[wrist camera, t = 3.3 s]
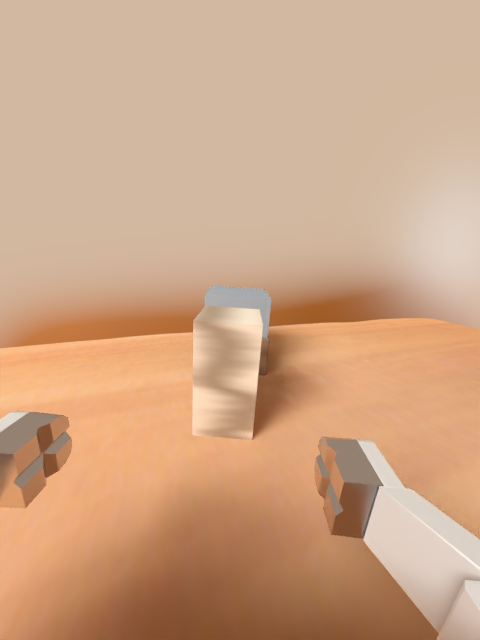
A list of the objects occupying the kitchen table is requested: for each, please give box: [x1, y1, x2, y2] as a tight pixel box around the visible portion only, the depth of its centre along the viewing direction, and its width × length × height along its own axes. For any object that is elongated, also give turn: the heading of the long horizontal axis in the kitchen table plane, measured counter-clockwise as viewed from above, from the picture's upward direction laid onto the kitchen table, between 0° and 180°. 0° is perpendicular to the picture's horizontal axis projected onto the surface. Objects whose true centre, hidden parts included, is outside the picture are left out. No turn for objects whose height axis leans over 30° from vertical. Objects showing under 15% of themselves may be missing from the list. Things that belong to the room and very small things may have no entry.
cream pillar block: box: [193, 306, 263, 440], centre depth 21 cm, size 5×5×10 cm
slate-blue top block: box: [205, 286, 271, 338], centre depth 33 cm, size 8×8×5 cm
